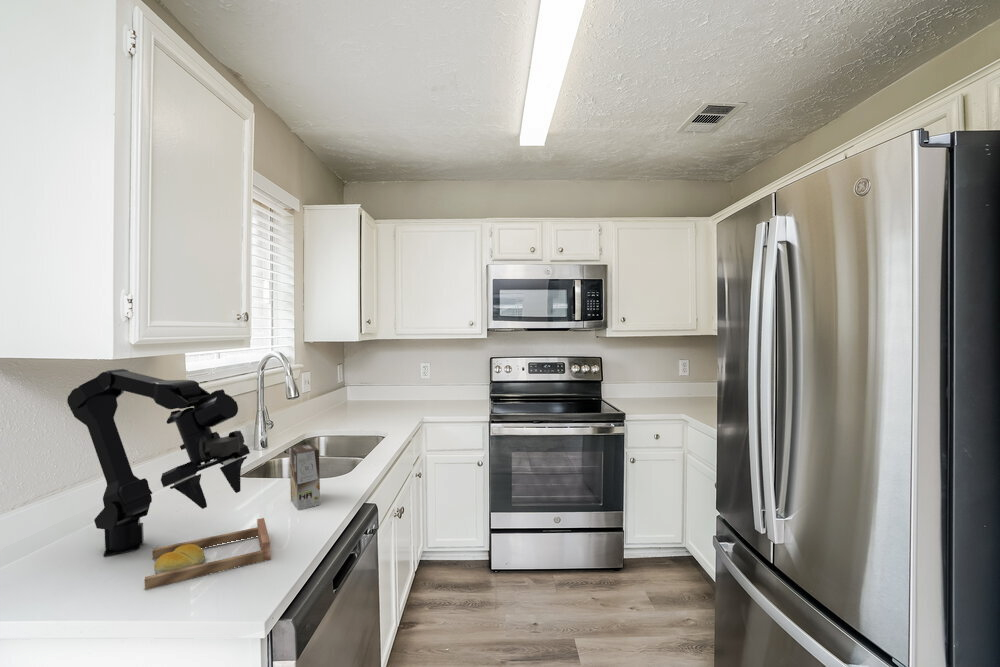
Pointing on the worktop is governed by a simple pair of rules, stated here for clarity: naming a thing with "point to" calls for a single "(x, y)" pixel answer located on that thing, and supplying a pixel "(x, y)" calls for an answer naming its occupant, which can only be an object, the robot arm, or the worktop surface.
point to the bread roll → (180, 558)
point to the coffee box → (304, 476)
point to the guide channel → (215, 565)
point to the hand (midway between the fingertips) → (222, 499)
